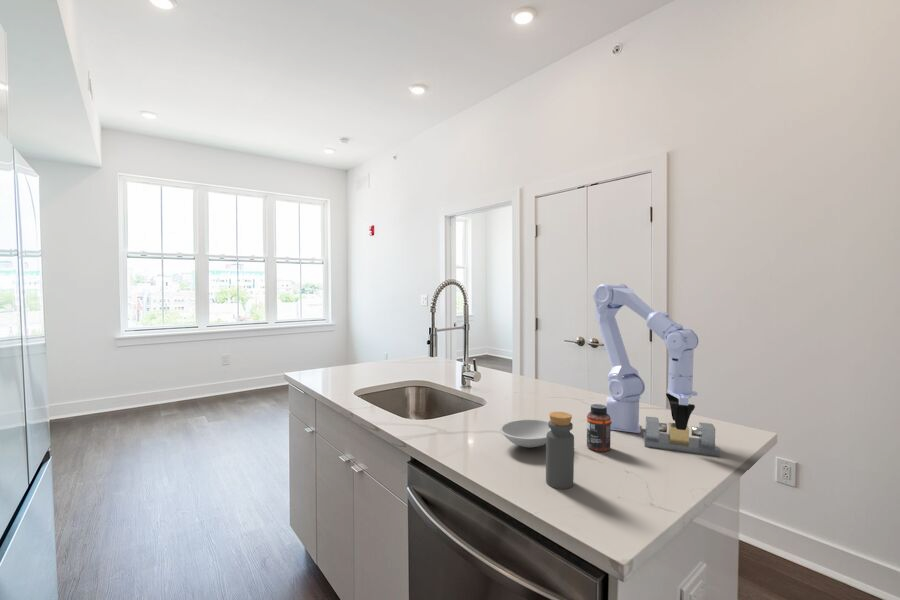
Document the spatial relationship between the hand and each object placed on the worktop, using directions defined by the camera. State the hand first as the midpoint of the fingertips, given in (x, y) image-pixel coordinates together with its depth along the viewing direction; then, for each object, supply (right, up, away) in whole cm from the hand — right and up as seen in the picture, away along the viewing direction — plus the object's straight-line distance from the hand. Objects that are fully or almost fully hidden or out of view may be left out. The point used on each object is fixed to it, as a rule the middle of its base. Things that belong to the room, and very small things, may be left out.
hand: (678, 424), depth 113 cm
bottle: (-38, -7, -21) cm, 44 cm away
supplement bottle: (-22, -6, -2) cm, 23 cm away
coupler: (0, -4, 0) cm, 4 cm away
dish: (-40, -6, -1) cm, 41 cm away
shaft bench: (0, -6, 0) cm, 6 cm away
